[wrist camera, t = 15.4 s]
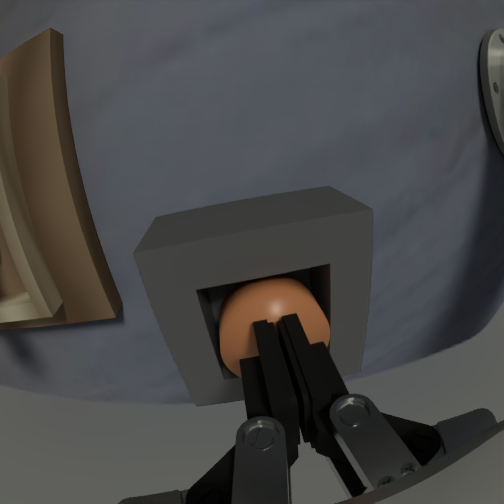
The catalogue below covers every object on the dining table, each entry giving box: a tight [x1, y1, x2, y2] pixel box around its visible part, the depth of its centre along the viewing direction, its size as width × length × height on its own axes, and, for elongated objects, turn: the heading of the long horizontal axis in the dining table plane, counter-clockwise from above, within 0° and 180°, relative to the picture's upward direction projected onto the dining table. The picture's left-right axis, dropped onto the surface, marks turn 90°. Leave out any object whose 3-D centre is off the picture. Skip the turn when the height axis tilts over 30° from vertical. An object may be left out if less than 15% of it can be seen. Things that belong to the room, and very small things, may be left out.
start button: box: [219, 274, 330, 378], centre depth 12 cm, size 4×4×2 cm
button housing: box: [133, 186, 373, 406], centre depth 14 cm, size 9×9×4 cm
